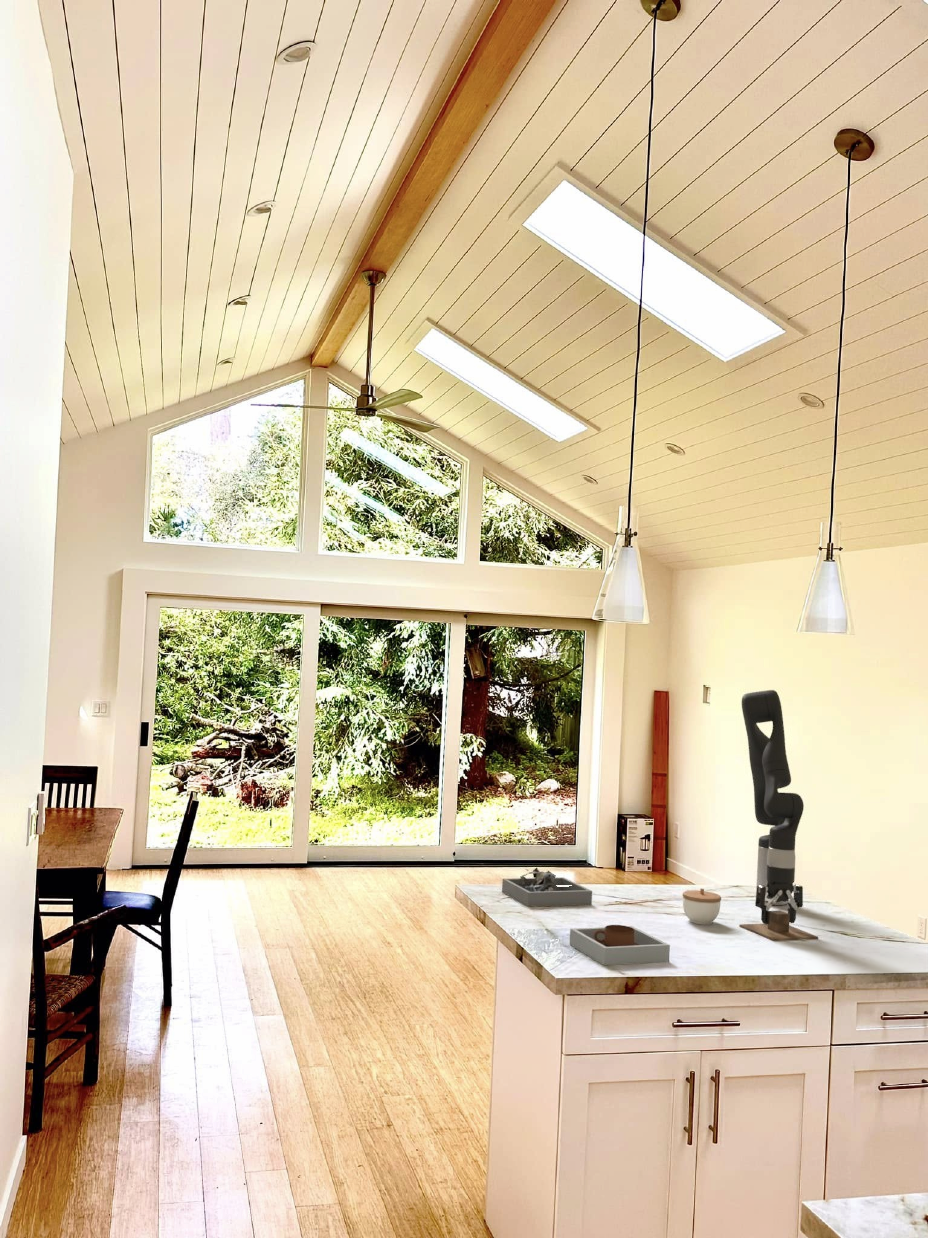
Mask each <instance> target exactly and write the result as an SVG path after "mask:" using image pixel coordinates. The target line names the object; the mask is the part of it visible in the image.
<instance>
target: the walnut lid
mask: <svg viewBox="0 0 928 1238" xmlns="http://www.w3.org/2000/svg"><path fill="white" fill-rule="evenodd" d="M769 911H770V919H769V924H764V923H746V924H745V923H744V924H742V923H741V924H739V925H738V927H739V928H741V929H744V930H747V931H748V932H750V933H751V932H752V933H753V934H755V935H757V936H759V937H763V938H765V939H767V940H770V941H771V942H780V941H784V942H785V941H800V940H799V939H806V940H818V939H819V936H817V935H815V934H812V933H810V932H808V931H805V930H802V929H800V928H797V927H794V926H792V925H790V922H789V918H790V914H788V912H786V911H783V910H769Z"/></svg>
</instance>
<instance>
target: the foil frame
mask: <svg viewBox="0 0 928 1238" xmlns="http://www.w3.org/2000/svg"><path fill="white" fill-rule="evenodd" d="M525 878H526V879H527V880H528V881H530V882H531V883H533V882H534V880H535V878H534V877H525ZM520 881H521V880H520V878H502V884H501V887H502V888H501V892H502V893H503V894H505V895H506V896H509V897H510V898H513V899H514V901H515V900H516V901H517V902H519V903H521V904H522V905H525V906H526V907H552V906H553V907H554V906H555V907H556V906H557V907H558V906H581V905H583V906H585V905H586V906H587V905H589V906H590V905H592V904H593V890H591V889H589V888H587V887H585V886H582V885H581V884H578V883H576V882H574V881H572V880H571V879H568V878H566V877H564V876H562V877H555V879H554V883H546V886H548V885H555V886H556V885H572V886H569V887H557V886H556V887H555V891H542V892H530V891H528V890H526V889H524V888H522V887H520V886H519V883H520ZM537 889H538V888H537Z"/></svg>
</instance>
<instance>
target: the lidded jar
mask: <svg viewBox="0 0 928 1238" xmlns="http://www.w3.org/2000/svg"><path fill="white" fill-rule="evenodd" d="M721 901H722V896H721V895H720V894H718V893H715V892H711V891H707V890H706V891H705V889H704V888H702V887H701V888H700V889H699V890H685V891H683V892H682V907H683V912H684V914H685V916H686V917H687V918H688V920H689V922H690V923H692V924H696V925H697V924H698V925H707V926H708V925H712V923H713V922H714V921H715V920H716V919H717V918H718V916H719V913H720V910H721Z"/></svg>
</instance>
